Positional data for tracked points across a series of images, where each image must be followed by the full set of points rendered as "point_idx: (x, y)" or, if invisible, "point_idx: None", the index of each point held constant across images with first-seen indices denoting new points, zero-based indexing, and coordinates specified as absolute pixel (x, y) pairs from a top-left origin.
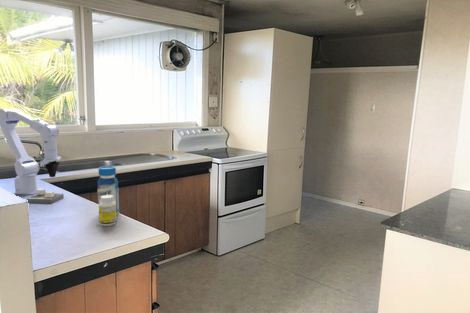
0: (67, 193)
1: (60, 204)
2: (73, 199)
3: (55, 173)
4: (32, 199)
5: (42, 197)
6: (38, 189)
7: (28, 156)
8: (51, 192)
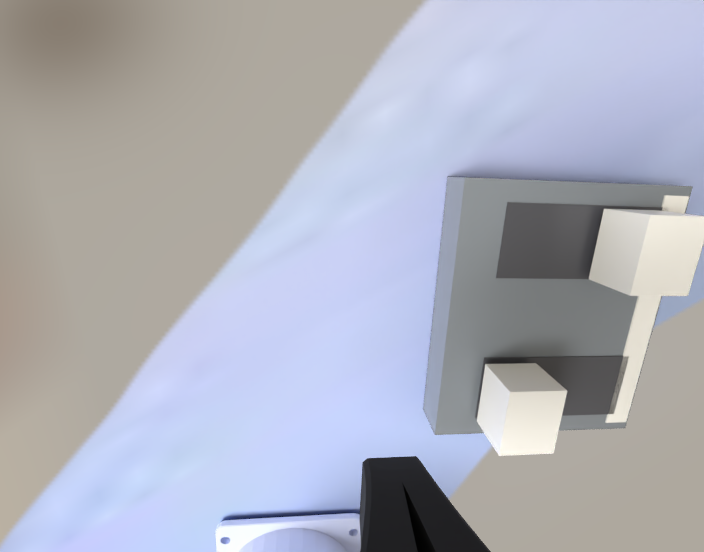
0: (268, 229)
1: (695, 74)
2: (517, 19)
3: (388, 503)
4: (633, 375)
5: (605, 317)
6: (529, 446)
7: None
8: (692, 222)
